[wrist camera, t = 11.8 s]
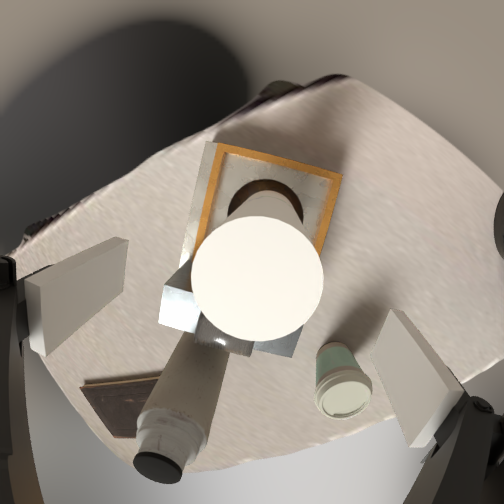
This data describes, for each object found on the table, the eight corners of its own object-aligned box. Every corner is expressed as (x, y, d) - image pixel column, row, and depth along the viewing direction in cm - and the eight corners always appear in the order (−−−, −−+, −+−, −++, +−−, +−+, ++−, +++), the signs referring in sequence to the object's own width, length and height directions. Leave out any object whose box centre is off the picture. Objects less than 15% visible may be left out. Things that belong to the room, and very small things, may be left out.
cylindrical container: (233, 198, 41) (173, 237, 16) (286, 184, 40) (305, 199, 15) (249, 250, 42) (215, 351, 18) (301, 236, 41) (334, 324, 17)
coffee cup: (304, 374, 51) (309, 422, 39) (312, 333, 49) (321, 377, 37) (351, 376, 50) (365, 421, 39) (362, 335, 48) (382, 377, 37)
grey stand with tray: (334, 174, 42) (371, 176, 25) (293, 314, 48) (300, 383, 31) (211, 143, 42) (172, 126, 25) (181, 285, 48) (137, 340, 31)
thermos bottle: (226, 362, 51) (191, 500, 24) (181, 349, 51) (119, 476, 24) (237, 324, 49) (202, 465, 22) (189, 310, 49) (116, 436, 22)
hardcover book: (84, 381, 56) (79, 387, 54) (171, 371, 53) (167, 378, 51) (118, 433, 60) (115, 439, 58) (204, 429, 57) (202, 436, 54)
